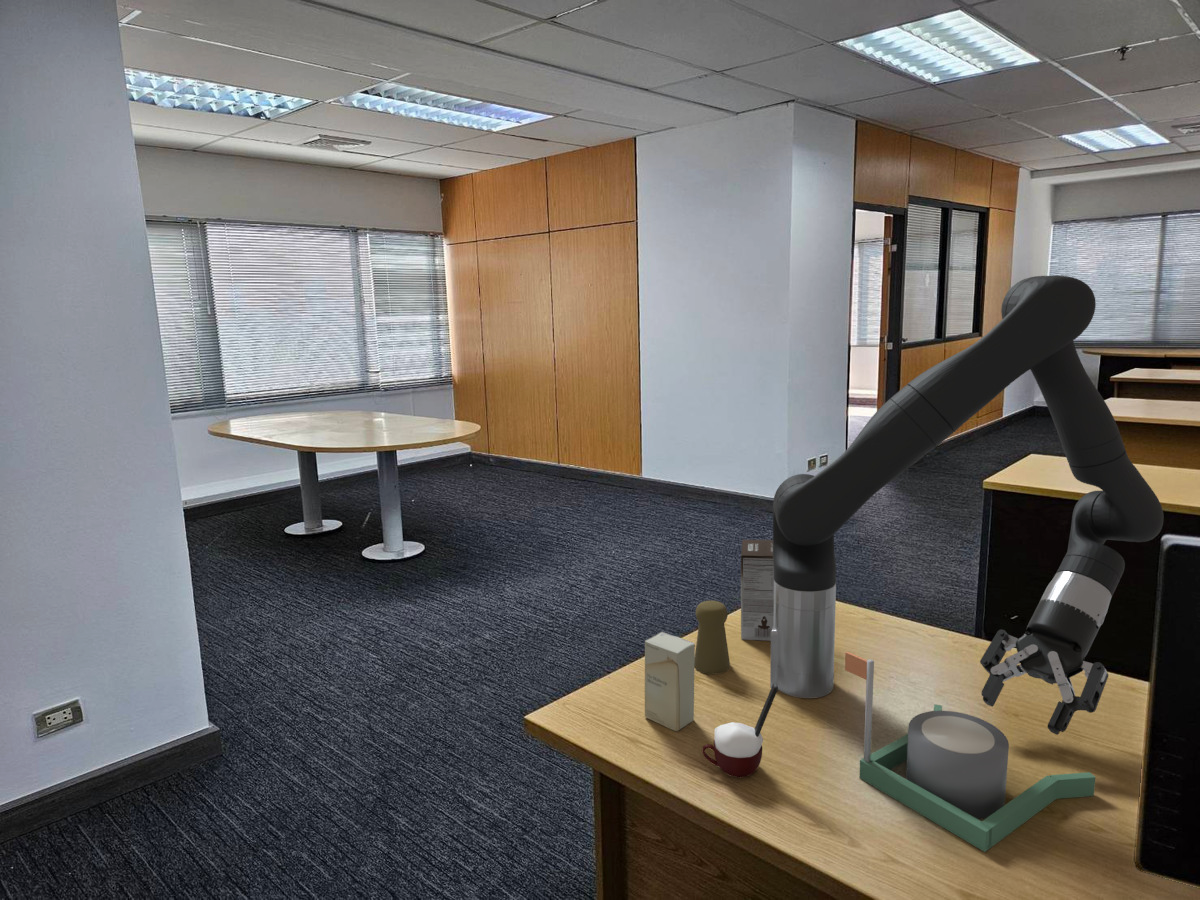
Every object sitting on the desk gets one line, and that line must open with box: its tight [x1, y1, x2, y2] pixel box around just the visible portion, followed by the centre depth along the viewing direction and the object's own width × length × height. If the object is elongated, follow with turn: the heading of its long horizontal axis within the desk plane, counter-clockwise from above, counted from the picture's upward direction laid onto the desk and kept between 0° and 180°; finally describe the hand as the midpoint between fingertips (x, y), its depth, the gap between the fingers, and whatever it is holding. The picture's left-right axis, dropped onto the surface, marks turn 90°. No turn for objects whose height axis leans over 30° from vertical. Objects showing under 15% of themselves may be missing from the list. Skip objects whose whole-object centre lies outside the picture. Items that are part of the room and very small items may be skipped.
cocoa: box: [701, 682, 779, 779], centre depth 98 cm, size 10×6×12 cm, turn 61°
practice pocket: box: [844, 651, 1096, 853], centre depth 94 cm, size 20×22×16 cm
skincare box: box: [644, 631, 696, 732], centre depth 111 cm, size 6×4×12 cm
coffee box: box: [740, 539, 774, 642], centre depth 139 cm, size 9×6×16 cm
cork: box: [694, 600, 731, 675], centre depth 126 cm, size 6×6×11 cm
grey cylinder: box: [905, 710, 1010, 820], centre depth 93 cm, size 11×11×8 cm
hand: (1018, 716), depth 100 cm, fingers open, 8 cm apart
